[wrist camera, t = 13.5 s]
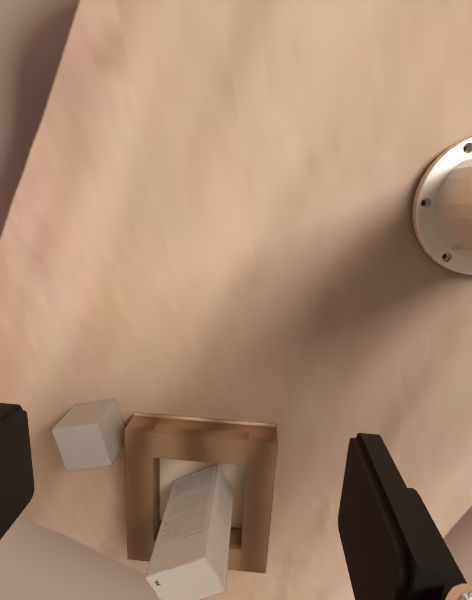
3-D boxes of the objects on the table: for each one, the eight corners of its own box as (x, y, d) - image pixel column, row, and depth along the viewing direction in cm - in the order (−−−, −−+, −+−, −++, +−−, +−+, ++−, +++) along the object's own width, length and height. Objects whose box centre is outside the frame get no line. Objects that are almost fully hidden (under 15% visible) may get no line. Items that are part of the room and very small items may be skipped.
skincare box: (190, 507, 45) (165, 613, 33) (173, 479, 44) (142, 578, 32) (236, 490, 44) (227, 593, 32) (219, 461, 43) (204, 556, 31)
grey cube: (115, 397, 43) (97, 422, 38) (127, 436, 44) (111, 465, 39) (74, 404, 43) (51, 429, 38) (87, 442, 44) (66, 471, 40)
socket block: (276, 424, 42) (277, 443, 39) (265, 546, 46) (265, 573, 43) (135, 412, 43) (124, 430, 39) (137, 533, 47) (127, 559, 44)
